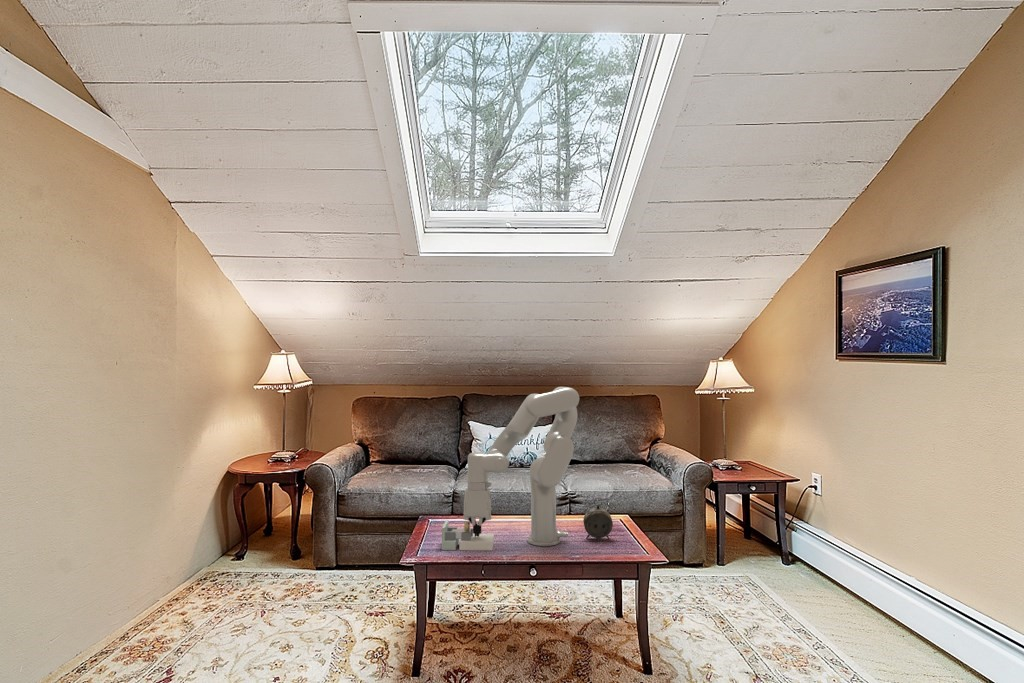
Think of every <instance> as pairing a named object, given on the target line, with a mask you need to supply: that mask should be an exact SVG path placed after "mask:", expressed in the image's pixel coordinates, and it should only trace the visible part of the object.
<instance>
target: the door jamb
mask: <svg viewBox="0 0 1024 683" xmlns="http://www.w3.org/2000/svg"><path fill="white" fill-rule="evenodd" d="M449 524H450V523H449V520H445V522H444V523H443V526H442V527H441V550H442V551H456V550H457V548H458V545H459V542H460V539H455V531H452V529H458V527H457V526H449Z"/></svg>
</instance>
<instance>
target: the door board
mask: <svg viewBox="0 0 1024 683" xmlns="http://www.w3.org/2000/svg"><path fill="white" fill-rule="evenodd" d="M470 529H471V533H461V539H459V543H458V545H459V551H493V548H494V544H495V534H494V533H481V534H480V535H479V537H478V536H476V537H475V534H473V528H470Z"/></svg>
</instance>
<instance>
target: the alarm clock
mask: <svg viewBox="0 0 1024 683" xmlns="http://www.w3.org/2000/svg"><path fill="white" fill-rule="evenodd" d="M597 499H600V500H601V504H596V503H595V501H596V500H597ZM593 504H594V506H596V507H592V508H590V509H588V510H587V511H586V512H585V514H584V516H583V526H584V529H585V532H586V533H587V536H586V538H585V539H586V540H588V539H589V537H592V538H595V539H596V540H597V542H598V543H599V542H600V539H603V538H607V540H610V539H611V538H610V536H609V535H610V534H611V532H612V530H613V526H614V524H613V519H612V516H611V513H610V512H608V510H606V509H605V508H603V507H600V506H602V505H603V499H602V497H595V498H594V500H593Z"/></svg>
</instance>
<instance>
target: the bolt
mask: <svg viewBox="0 0 1024 683" xmlns="http://www.w3.org/2000/svg"><path fill="white" fill-rule="evenodd" d="M463 523H464V524H463V525H464V528H457V529H452V531H455V539H459V540H460V539H461V533H471V529H472V528H470V527H471V522H470V521H465V522H463Z"/></svg>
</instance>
